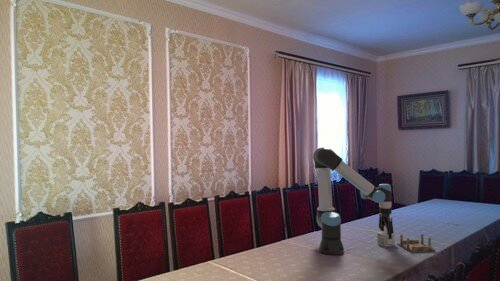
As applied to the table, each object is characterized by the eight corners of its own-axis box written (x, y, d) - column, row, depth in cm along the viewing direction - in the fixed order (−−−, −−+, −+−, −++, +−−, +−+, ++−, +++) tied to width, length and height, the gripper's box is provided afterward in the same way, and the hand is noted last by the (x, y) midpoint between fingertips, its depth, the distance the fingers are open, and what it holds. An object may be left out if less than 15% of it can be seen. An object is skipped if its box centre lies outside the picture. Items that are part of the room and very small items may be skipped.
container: (377, 243, 230) (376, 224, 230) (386, 242, 232) (386, 223, 232) (385, 246, 222) (385, 226, 222) (395, 245, 225) (394, 225, 225)
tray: (410, 252, 211) (409, 239, 211) (397, 244, 227) (396, 233, 227) (435, 251, 212) (434, 239, 212) (420, 243, 228) (420, 232, 228)
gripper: (399, 210, 217) (399, 246, 217) (383, 204, 239) (384, 237, 238) (387, 210, 217) (388, 246, 216) (372, 204, 238) (373, 237, 238)
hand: (386, 241), depth 227 cm, fingers closed on container, 9 cm apart
